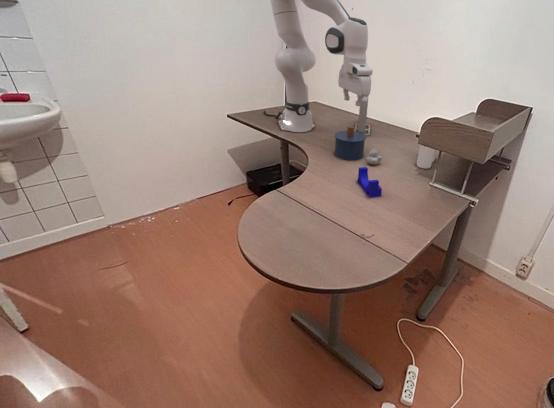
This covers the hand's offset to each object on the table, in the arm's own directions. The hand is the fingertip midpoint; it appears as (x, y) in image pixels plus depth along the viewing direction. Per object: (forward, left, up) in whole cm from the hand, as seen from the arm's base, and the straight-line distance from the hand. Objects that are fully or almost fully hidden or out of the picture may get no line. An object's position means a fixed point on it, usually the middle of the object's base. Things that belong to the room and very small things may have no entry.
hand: (352, 103), depth 123 cm
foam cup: (+18, +32, -23) cm, 43 cm away
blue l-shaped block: (+31, -9, -23) cm, 40 cm away
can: (+23, +25, -23) cm, 41 cm away
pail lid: (0, 0, -15) cm, 15 cm away
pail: (0, 0, -23) cm, 23 cm away
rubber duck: (+13, +5, -23) cm, 27 cm away
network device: (-29, +25, -23) cm, 45 cm away
